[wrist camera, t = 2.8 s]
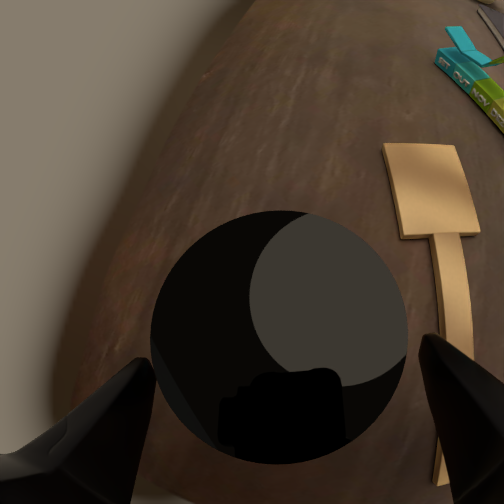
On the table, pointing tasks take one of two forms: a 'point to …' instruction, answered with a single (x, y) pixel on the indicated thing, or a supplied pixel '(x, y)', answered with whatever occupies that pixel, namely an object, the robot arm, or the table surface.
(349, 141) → the table surface
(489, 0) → the bowl
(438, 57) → the chart
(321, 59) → the table surface
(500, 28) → the notebook
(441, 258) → the spatula
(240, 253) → the supplement container
